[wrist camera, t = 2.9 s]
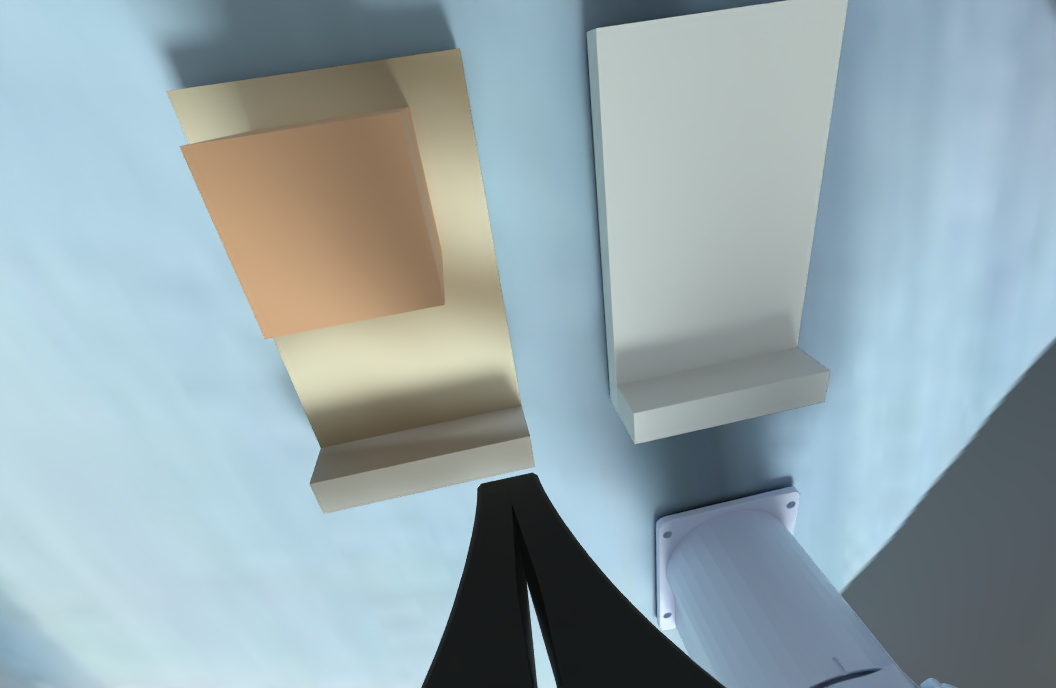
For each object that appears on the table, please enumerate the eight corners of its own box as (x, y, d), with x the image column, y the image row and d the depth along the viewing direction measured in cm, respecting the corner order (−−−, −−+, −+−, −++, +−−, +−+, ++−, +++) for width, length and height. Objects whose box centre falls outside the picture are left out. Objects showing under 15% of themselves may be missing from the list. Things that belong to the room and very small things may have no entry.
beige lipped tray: (522, 420, 21) (535, 466, 19) (337, 460, 21) (323, 514, 18) (457, 50, 15) (463, 42, 12) (182, 91, 14) (125, 90, 11)
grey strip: (778, 365, 22) (824, 401, 20) (610, 401, 22) (635, 444, 19) (826, -4, 16) (905, -23, 13) (586, 32, 15) (618, 19, 12)
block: (442, 253, 16) (445, 304, 13) (306, 278, 16) (265, 339, 12) (409, 106, 14) (400, 111, 10) (251, 130, 14) (179, 146, 10)
